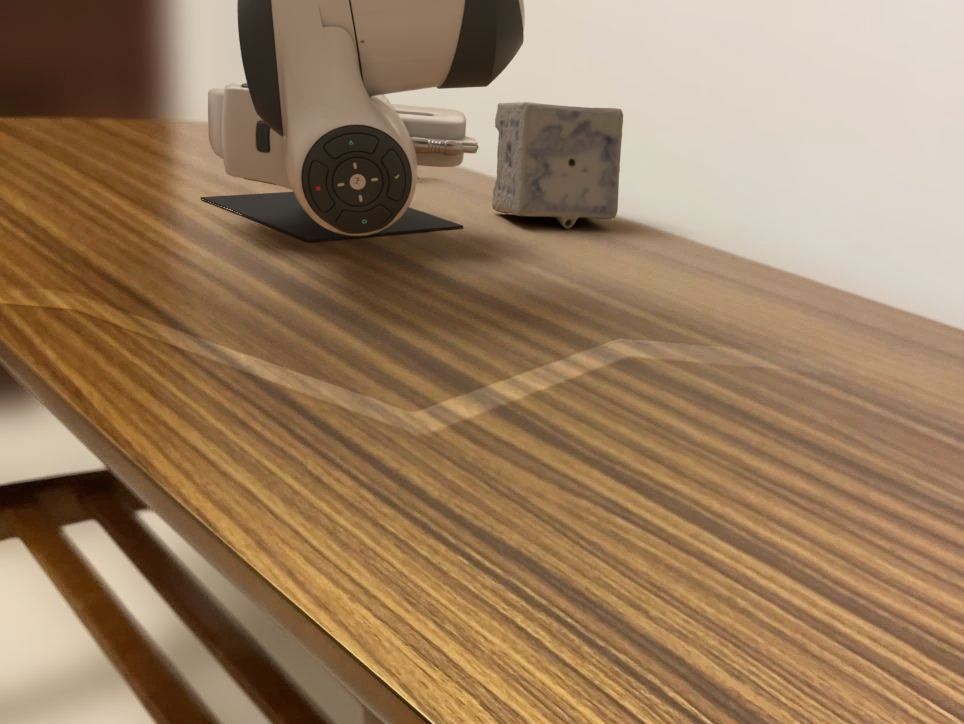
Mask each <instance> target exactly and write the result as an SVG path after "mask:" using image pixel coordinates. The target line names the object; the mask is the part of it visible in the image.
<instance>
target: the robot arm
mask: <svg viewBox="0 0 964 724" xmlns="http://www.w3.org/2000/svg"><path fill="white" fill-rule="evenodd" d="M236 6H237V11H236V13H237V30H238V31H237V33H238V42H239V50H240V55H241V61H242V67H243V72H244V77H245V82H243V83H229V84H226V86H225V87H224V88H219V87H217V88H211V89H209V90H208V92H207V128H208V129H207V131H208V132H207V133H208V134H207V135H208V142H209V145H210V146H211V150H212V151H213V153H214V154H215V155H216V156H217V157H219V158H221V159H222V160H223V165H224V166H223V167H224V171H225V174H226V175H228V176H229V177H234V178H239V179H243V180H247V181H253V182H260V183H264V184H269V185H274V186H279V187H283V188H285V189H289V190H291V191H292V192H293V193H294V195H295V196H296V198H297V200H298V202H299V203H300V205H301V206H302V208H303V209H304V210H305V211H306V213H307V214H308V215H309V216H310V217H311V218H312V219H313V220H314V221H315V222H317V223H318V224H319V225H321V226H322V227H324V228H326V229H328V230H330V231H333V232H336V233H339V234H344V235H350V236H365V235H370V234H374V233H377V232H379V231H382V230H383V229H385V228H387V227H389V226H390V225H392V224H393V223H395V222H396V221H397V220H398V219H400V218H401V217H402V215H403V214H404V213H405V212H406V210H407V209H408V207H410V205H411V203H412V201H413V199H414V195H415V193H416V188H417V183H418V166H421V167H435V168H455V167H459V166H460V165H462V163H463V162H464V158H465V154H477V152H478V150H479V145H478V143H479V142H478V141H477V140H476V139H475V138H473V137H470V136H466V134H467V117H466V115H465V113H464V112H462V111H460V110H455V109H453V108H443V107H431V106H419V105H409V104H408V105H407V104H396V103H395V104H394V103H391V102H390V100H389V98H388V97H387V96H386V95H390V94H397V93H404V92H411V91H417V90H425V89H432V88H436V89H437V90H442V89H443V90H444V89H445V90H446V89H465V88H485V87H488V86H489V85H490V84H492V83H493V82H494V81H495V80H496V78H498V77H499V76H500V74H502V73H503V71H504V70H505V69H506V68H507V67H508V66H509V64H510V63H511V62H512V61H513V59H514V58H515V57H516V55H517V54H518V52H519V51H520V49H521V47H522V46H523V44H524V38H525V37H524V32H525V25H526V24H525V22H526V12H525V10H526V9H525V1H524V0H237V5H236Z"/></svg>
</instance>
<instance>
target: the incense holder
mask: <svg viewBox="0 0 964 724" xmlns="http://www.w3.org/2000/svg"><path fill="white" fill-rule="evenodd" d="M494 121H495V122H494V128H495V129H497V131H498V141H497V153H496V156H497V157H496V158H497V162H496V180H495V182H494V186H493V190H492V199H491V207H492V210H494V211H495V212H498V213H501V214H507V215H509V214H510V215H514V216H518V217H544V218H545V217H547V218H555V219H556V220H557V221H558V223H559V224H560V225H561V226H562V227H563V228H564V229H571V228H572V227H573V226H575V223H576V222H577V221H578V219H580V218H583V219H594V220H595V219H596V220H597V219H598V220H613V219H616V217H617V213H618V211H619V210H618V209H619V188H620V187H619V186H620V172H621V151H622V140H623V127H624V126H623V125H624V113H623V110H622V109H621V108H617V107H616V108H615V107H585V106H584V107H583V106H568V105H560V104H559V105H558V104H549V103H548V104H547V103H538V102H530V101H523V102H522V101H521V102H519V101H517V102H499V103H497V110H496V114H495V118H494Z"/></svg>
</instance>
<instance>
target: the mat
mask: <svg viewBox="0 0 964 724" xmlns="http://www.w3.org/2000/svg"><path fill="white" fill-rule="evenodd" d="M201 199H204V200H206V201H209V202H211V203H214V204H216V205H219V206H222V207H225V208H228V209H231V210H233V211H235V212H238V213H240V214H242V215H244V216H246V217H245V218H247V217H248V218H247V219H249V218H250V220H252V221H254V222H257V223H259V222H260V224H262V225H264V224H265V225H264V226H267V227H270V228H272V229H275V230H277V231H280V232H282V233H285V234H287V235H290V236H293V237H295V238H298V239H300V240H303V241H305V242H307V243H311V242H313V243H314V242H322V241H323V242H324V241H335V240H344V239H345V240H347V239H355V238H367V237H378V236H389V235H400V234H410V233H421V232H432V231H433V232H434V231H443V230H444V231H445V230H455V229H463V228H464V225H463V224H460V223H457V222H454V221H451V220H448V219H445V218H442V217H439V216H437V215H433V214H431V213H427V212H425V211H421V210H418V209H415V208H412V207H410V206H409V207H408V209H407V210H406V212H405V213H404V214H403V215H402V217H401V218H400V219H398V220H397V221H396V222H395V223H393V224H392V225H390V226H389V227H387V228H385V229H383V230H382V231H379V232H377V233H374V234H370V235H365V236H350V235H344V234H339V233H336V232H333V231H330V230H328V229H326V228H324V227H322V226H321V225H319V224H318V223H317V222H315V221H314V220H313V219H312V218H311V217H310V216H309V215H308V214H307V213H306V211H305V210H304V209H303V208H302V206H301V205H300V203H299V202H298V200H297V198H296V196H295V195H294V193H293V191H283V192H279V191H278V192H265V193H249V194H248V193H247V194H230V195H229V194H228V195H215V196H212V195H211V196H200V200H201ZM206 201H205V202H206ZM209 202H208V203H209ZM211 203H210V204H211ZM214 204H213V205H214ZM216 205H215V206H216ZM219 206H218V207H219ZM242 215H241V216H242ZM244 216H243V217H244Z"/></svg>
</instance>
